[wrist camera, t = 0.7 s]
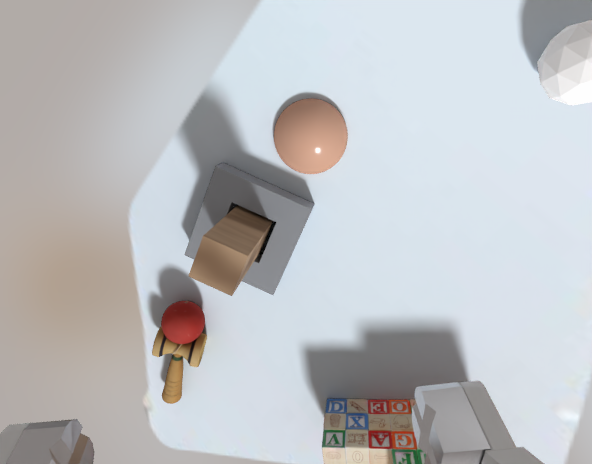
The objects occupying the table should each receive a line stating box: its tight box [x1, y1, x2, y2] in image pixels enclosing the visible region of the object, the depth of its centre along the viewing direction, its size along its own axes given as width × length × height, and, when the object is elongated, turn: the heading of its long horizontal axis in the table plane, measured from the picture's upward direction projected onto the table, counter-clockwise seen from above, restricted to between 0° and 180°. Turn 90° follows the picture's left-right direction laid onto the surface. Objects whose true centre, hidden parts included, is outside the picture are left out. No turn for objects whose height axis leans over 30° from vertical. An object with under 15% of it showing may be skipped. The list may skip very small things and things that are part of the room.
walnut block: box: [189, 205, 273, 296], centre depth 49 cm, size 5×5×14 cm
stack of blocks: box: [322, 399, 426, 464], centre depth 56 cm, size 21×6×12 cm, turn 96°
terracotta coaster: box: [274, 99, 348, 174], centre depth 51 cm, size 9×9×1 cm
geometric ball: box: [537, 20, 592, 105], centre depth 41 cm, size 8×8×8 cm
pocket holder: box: [185, 163, 314, 295], centre depth 54 cm, size 13×13×3 cm
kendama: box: [152, 300, 207, 404], centre depth 61 cm, size 8×6×18 cm
